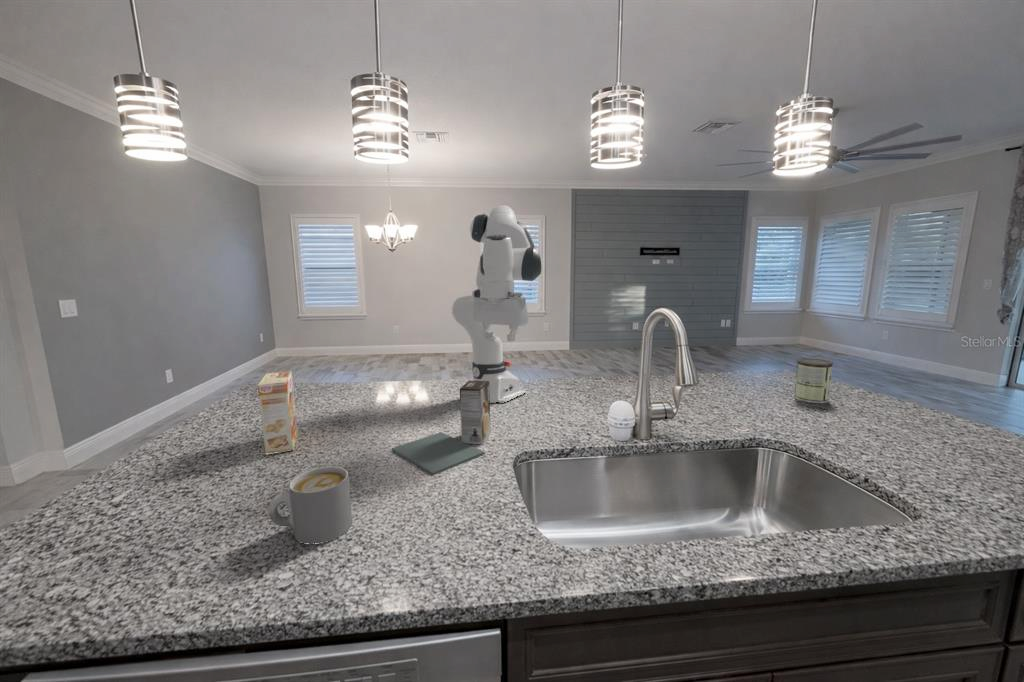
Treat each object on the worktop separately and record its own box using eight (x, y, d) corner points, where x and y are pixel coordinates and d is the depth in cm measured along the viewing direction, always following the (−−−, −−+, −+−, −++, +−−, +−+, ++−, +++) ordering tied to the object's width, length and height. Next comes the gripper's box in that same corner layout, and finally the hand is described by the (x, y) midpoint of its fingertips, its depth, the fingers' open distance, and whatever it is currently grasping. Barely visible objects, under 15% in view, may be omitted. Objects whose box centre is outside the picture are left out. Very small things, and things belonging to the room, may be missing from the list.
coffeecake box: (294, 451, 113) (286, 381, 110) (264, 456, 110) (255, 385, 107) (299, 432, 126) (292, 370, 123) (272, 436, 124) (265, 372, 121)
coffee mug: (356, 510, 84) (353, 464, 82) (346, 541, 74) (341, 489, 73) (285, 518, 82) (280, 470, 80) (265, 551, 72) (258, 497, 70)
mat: (441, 434, 123) (441, 432, 123) (484, 454, 109) (484, 452, 109) (391, 450, 112) (391, 448, 112) (432, 475, 98) (432, 472, 98)
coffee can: (790, 394, 157) (794, 357, 155) (823, 396, 153) (827, 359, 151) (798, 401, 147) (802, 363, 145) (833, 404, 144) (837, 365, 141)
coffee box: (470, 431, 125) (469, 379, 122) (491, 432, 124) (490, 380, 121) (461, 443, 116) (458, 388, 114) (483, 445, 115) (481, 389, 112)
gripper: (532, 292, 115) (533, 341, 117) (484, 291, 129) (485, 335, 131) (516, 293, 110) (517, 344, 113) (468, 292, 125) (469, 337, 127)
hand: (499, 339), depth 122 cm, fingers open, 8 cm apart
